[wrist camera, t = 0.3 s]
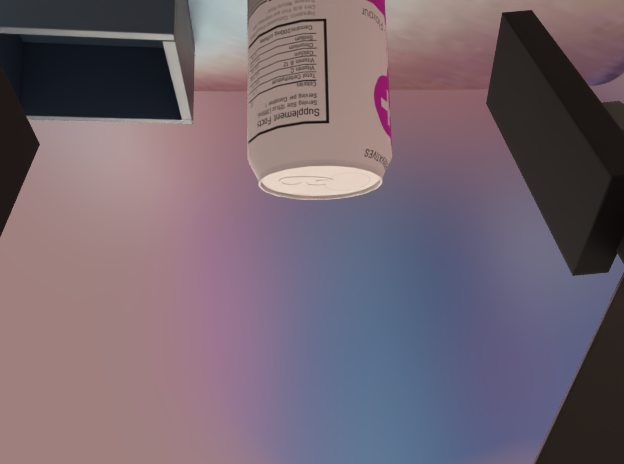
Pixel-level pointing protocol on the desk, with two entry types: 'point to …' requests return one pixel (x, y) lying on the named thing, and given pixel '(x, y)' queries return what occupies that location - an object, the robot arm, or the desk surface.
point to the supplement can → (318, 97)
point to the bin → (100, 59)
